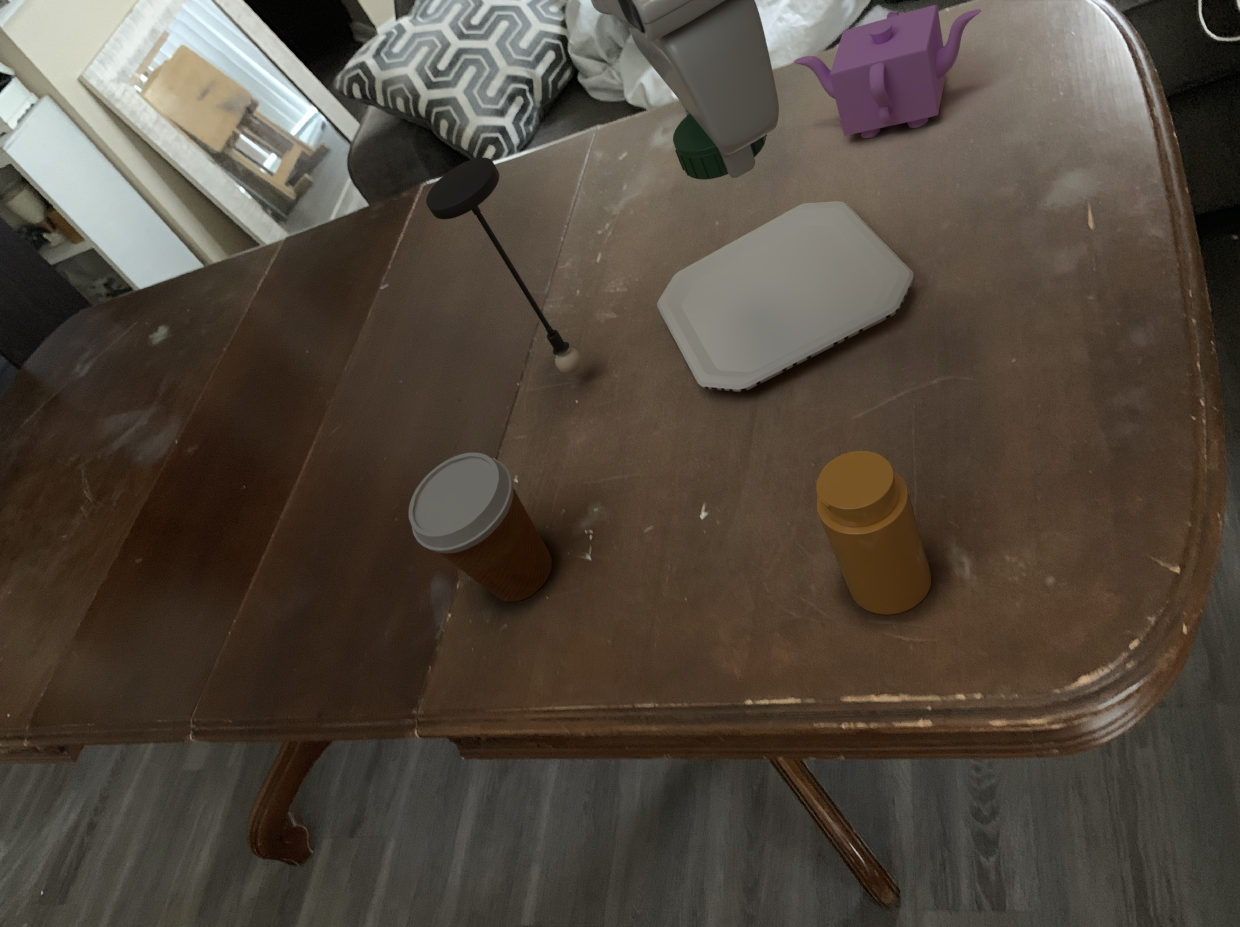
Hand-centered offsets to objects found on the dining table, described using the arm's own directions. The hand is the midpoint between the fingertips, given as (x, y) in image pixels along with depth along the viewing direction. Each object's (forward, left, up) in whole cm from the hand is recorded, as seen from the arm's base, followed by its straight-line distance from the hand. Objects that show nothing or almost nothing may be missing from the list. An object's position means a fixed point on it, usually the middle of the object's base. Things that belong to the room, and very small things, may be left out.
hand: (723, 147), depth 61 cm
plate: (-5, -11, -25) cm, 28 cm away
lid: (0, 0, +2) cm, 2 cm away
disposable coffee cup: (+30, -3, -25) cm, 39 cm away
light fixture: (+14, -20, -25) cm, 35 cm away
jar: (+8, +20, -25) cm, 32 cm away
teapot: (-31, -25, -25) cm, 47 cm away
